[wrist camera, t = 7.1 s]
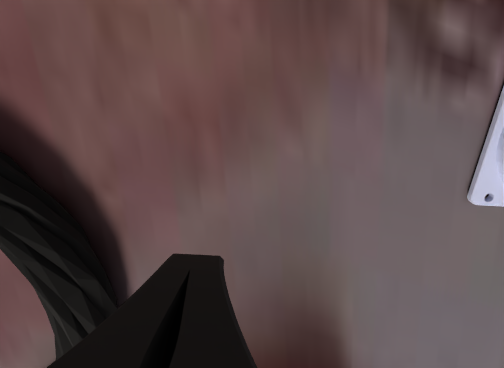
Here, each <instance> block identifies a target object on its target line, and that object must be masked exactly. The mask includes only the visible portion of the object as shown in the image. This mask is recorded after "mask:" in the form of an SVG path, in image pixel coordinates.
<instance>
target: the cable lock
mask: <svg viewBox="0 0 504 368" xmlns="http://www.w3.org/2000/svg"><path fill="white" fill-rule="evenodd" d="M0 249H1V250H2V251H3V252H4V254H5V255H6V256H7V257H8V258H9V259H10V260H11V261H12V263H13V264H14V265H15V266H16V267H17V268H18V269H19V270H20V271H21V273H22V274H23V275H24V276H25V277H26V278H27V279H28V280H29V282H30V283H31V284H32V286H33V287H34V289H35V291H36V293H37V295H38V297H39V299H40V301H41V303H42V305H43V307H44V309H45V311H46V313H47V315H48V318H49V321H50V324H51V326H52V329H53V332H54V335H55V348H56V360H57V359H59V358H60V357H61V356H62V355H64V354H65V353H66V352H68V351H69V350H70V349H71V348H73V347H74V346H75V345H76V344H78V343H79V342H80V341H81V340H82V339H84V338H85V337H86V336H87V335H88V334H90V333H91V332H92V331H93V330H94V329H95V328H97V327H98V326H99V325H100V324H101V323H102V322H103V321H105V320H106V319H107V318H108V317H109V316H110V315H111V314H113V313H114V312H115V311H116V310H117V308H116V302H117V299H116V296H115V294H114V292H113V289H112V287H111V285H110V282H109V280H108V277H107V275H106V273H105V270H104V269H103V267H102V265H101V264H100V262H99V260H98V258H97V257H96V255H95V254H94V252H93V251H92V249H91V246H90V244H89V242H88V239H87V237H86V235H85V232H84V230H83V228H82V227H81V226H80V225H79V224H78V223H77V222H76V221H75V220H74V219H73V217H72V216H71V215H70V214H69V213H68V212H67V211H66V210H65V209H64V208H63V207H62V206H61V205H60V204H59V203H58V202H57V201H56V200H55V199H53V198H52V197H51V196H50V195H49V194H47V193H46V192H45V191H44V190H42V189H41V188H40V187H38V186H37V185H36V184H35V183H34V182H33V181H32V179H31V178H30V177H29V176H28V175H27V174H26V173H25V172H24V171H23V170H22V169H21V168H20V167H19V166H18V165H17V164H16V163H15V162H14V161H13V160H12V159H11V158H10V157H9V156H7V155H5V154H4V153H2V152H0Z"/></svg>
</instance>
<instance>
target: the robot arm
mask: <svg viewBox="0 0 504 368" xmlns="http://www.w3.org/2000/svg"><path fill="white" fill-rule="evenodd" d="M487 194H489V196H488V197H487V198H486V199H484V197H485V196H486V195H487ZM467 198H468V200H469V201H470V202H471V203H473V204H475V205H486V206H504V86H503V89H502V92H501V95H500V99H499V102H498V105H497V108H496V111H495V114H494V117H493V120H492V123H491V126H490V129H489V132H488V135H487V138H486V141H485V144H484V147H483V150H482V153H481V156H480V159H479V162H478V165H477V168H476V171H475V174H474V177H473V180H472V183H471V186H470V189H469V192H468V196H467ZM223 266H224V260H223V259H222V258H221V257H220V256H211V255H191V254H173V255H171V256H170V257H169V258H168V259H167V260H166V261H165V262H164V263H163V264H162V265H161V267H160V268H159V269H158V270H157V271H156V272H155V273H154V274H153V275H152V276H151V277H150V278H149V279H148V280H147V281H146V282H145V283H144V284H143V285H142V286H141V287H140V288H139V289H138V290H137V291H136V292H135V293H134V294H133V295H132V296H131V297H130V298H129V299H128V300H127V301H126V302H124V303H123V304H122V305H121V306H120V307H119V308H118V309H117V310H116V311H115V312H114V313H113V314H111V315H110V316H109V317H108V318H107V319H106V320H105V321H103V322H102V323H101V324H100V325H99V326H98V327H97V328H95V329H94V330H93V331H92V332H91V333H90V334H88V335H87V336H86V337H85V338H84V339H82V340H81V341H80V342H79V343H78V344H76V345H75V346H74V347H73V348H71V349H70V350H69V351H68V352H66V353H65V354H64V355H62V356H61V357H60V358H59V359H57V360H56V361H55V362H53V363H52V364H51V365H49V366H48V367H47V368H257V366H256V364H255V362H254V360H253V358H252V356H251V353H250V351H249V349H248V347H247V344H246V342H245V339H244V337H243V335H242V332H241V330H240V327H239V324H238V322H237V319H236V316H235V313H234V310H233V307H232V304H231V301H230V298H229V294H228V290H227V286H226V282H225V277H224V269H223Z"/></svg>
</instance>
